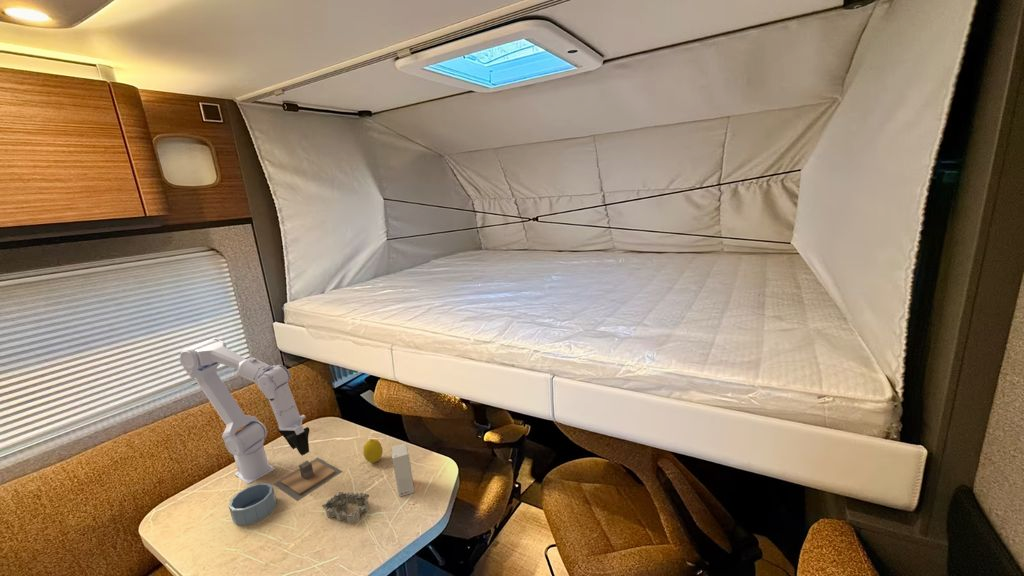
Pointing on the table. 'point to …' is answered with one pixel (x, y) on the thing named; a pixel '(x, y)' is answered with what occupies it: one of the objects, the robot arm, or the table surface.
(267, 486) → the bowl
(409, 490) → the skincare box
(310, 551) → the table surface
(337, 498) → the grey lumpy curved piece
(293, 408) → the robot arm
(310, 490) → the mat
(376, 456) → the lemon
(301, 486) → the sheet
